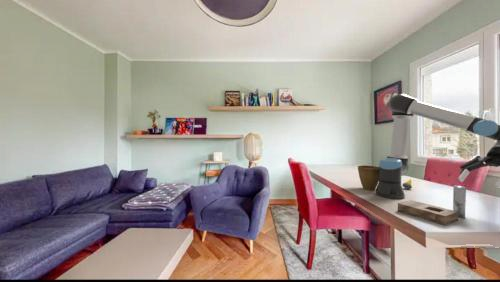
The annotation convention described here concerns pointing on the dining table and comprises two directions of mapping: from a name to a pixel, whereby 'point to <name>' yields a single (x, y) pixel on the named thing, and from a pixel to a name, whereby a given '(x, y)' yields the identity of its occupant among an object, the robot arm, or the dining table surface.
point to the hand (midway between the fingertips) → (477, 183)
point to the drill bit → (407, 185)
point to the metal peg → (459, 200)
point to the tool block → (428, 212)
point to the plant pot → (369, 176)
